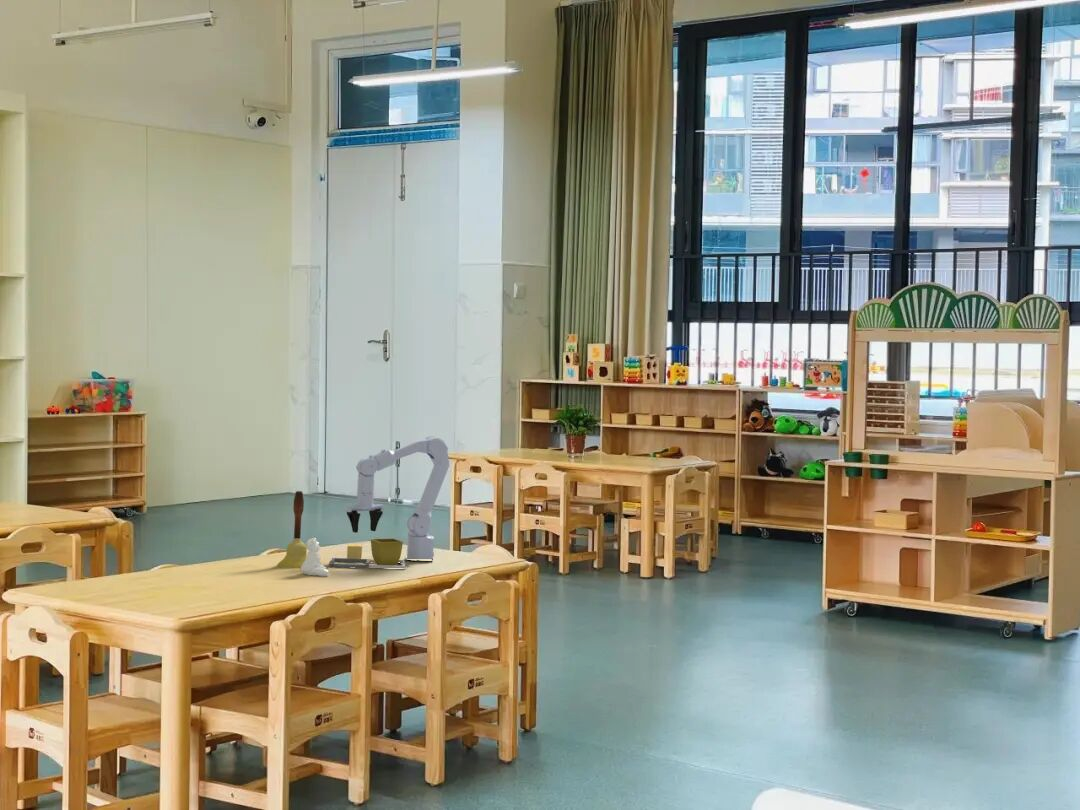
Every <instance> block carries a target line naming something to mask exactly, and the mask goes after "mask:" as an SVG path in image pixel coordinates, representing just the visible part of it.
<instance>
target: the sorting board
mask: <svg viewBox="0 0 1080 810" xmlns="http://www.w3.org/2000/svg"><path fill="white" fill-rule="evenodd" d="M335 561H341V562H340V563H336V562H335ZM355 562H367V563H360V564H358V563H355ZM370 562H375V561H374V559H373V558H362V559H353V558H347V557H345V558H344V557H331V559H330V563H329V568H332V567H355V568H354V569H363V568H405V569H406V565H405V564H406V559H405V560H404V559H399V561H398V562H400V563H402V564H401V565H396V566H395V565H376V564H371V563H370ZM369 564H370V565H369Z"/></svg>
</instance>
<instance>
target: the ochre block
mask: <svg viewBox="0 0 1080 810" xmlns="http://www.w3.org/2000/svg"><path fill="white" fill-rule="evenodd" d="M346 549H347V550H346V558H353V559H361V558H362V559H363V557H362V555H363V544H361V543H360V544H359V543H358V544H356V543H348V544H347V548H346Z"/></svg>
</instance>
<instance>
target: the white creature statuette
mask: <svg viewBox="0 0 1080 810" xmlns="http://www.w3.org/2000/svg"><path fill="white" fill-rule="evenodd" d="M305 545H306V548H307V551H308V552H307V553H306V555H307V557H306V560H305V561H304V562H303V564H302V566H301V568H300V569H301V572H302V574H304V575H305V574H308V575H307V576H310V575H319V576H318V577H323V576H327V577H329V575H330V574H329V573H330V571H329V570H328V569H327V566H325V565H323V564H321V556H320V551H319V550H321V547H320V542H318V540H317V538H316V537H311V538H310V539H308V540H307V541H306V543H305Z"/></svg>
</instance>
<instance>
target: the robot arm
mask: <svg viewBox="0 0 1080 810" xmlns="http://www.w3.org/2000/svg"><path fill="white" fill-rule="evenodd" d="M448 449H449V447H448V446H447V444H446V443H445V441H444V440H443V438H439V437H435V436H427V437H424V438H420V439H418V440H415V441H412V442H410V443H408V444H406V445H404V446H402V447H400V448H399V447H398V448H397V449H395V450H390V449H385V448H383V449H381V450H380V452H378V453H376V454H373V455H372V454H369V455H368V457H364V458H361V459H359V461H358V463H357V465H356V467H355V468H356V471H357V472H358V473H357V491H356V504H354V505H346V506H345V512H346V516H347V517H348V520H349V521H350V526H351V530H352V533H358V531H359V521H360V517H361V513H359V512H368V513H369V520H370V521H369V522H370V528H369V529H370V531H371V532H376V530H377V527H378V525H379V521H380V519H381V517H382V515H383V514H384V508H385V507H384V504H382V503H381V504H380V503H379V504H377V503H376V504H375V503H374V495H375V493H374V492H375V473H376V472H380V471H382V470H384V469H387V468H389V467H391V466H394V465H395V463H396V462H397V460H399V459H402V458H404V457H407V456H410V455H412V454H416V453H421V454H427V456H429V458H430V460H431V461H432V465H433V467H432V470H431V472H430V475H429V477H428V480H427V482H426V484H425V488H424V490H423V493H422V495H421V497H420V500H419V503H418V505H417V507H416V508H415V509H414V510H413V513H412V515H411V516H410V517H409V518H408V519H407V523H406V526H407V528H408V530H409V531H408V533H407V550H406V556H407V558H406V557H405V561H406V560H407V559H433V560H434V557H435V551H434V544H435V543H434V542H435V541H434V540H435V539H434V536H433V535H429V532H430V530H431V519H432V511H433V508H434V506H435V503H436V500H437V498H438V496H439V493H440V490H441V488H442V486H443V483H444V480H445V477H446V474H447V472H448V470H449V468H450V459H449V453H448V452H449V451H448Z"/></svg>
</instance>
